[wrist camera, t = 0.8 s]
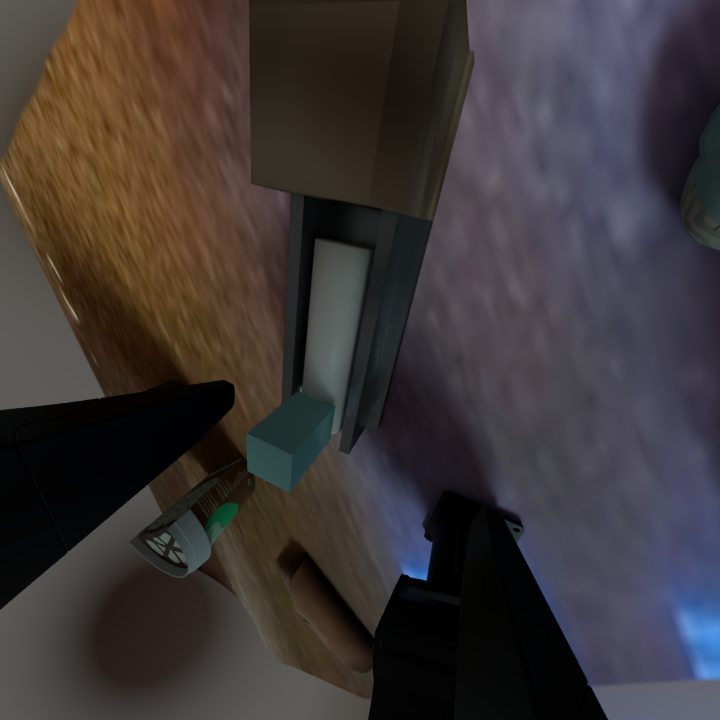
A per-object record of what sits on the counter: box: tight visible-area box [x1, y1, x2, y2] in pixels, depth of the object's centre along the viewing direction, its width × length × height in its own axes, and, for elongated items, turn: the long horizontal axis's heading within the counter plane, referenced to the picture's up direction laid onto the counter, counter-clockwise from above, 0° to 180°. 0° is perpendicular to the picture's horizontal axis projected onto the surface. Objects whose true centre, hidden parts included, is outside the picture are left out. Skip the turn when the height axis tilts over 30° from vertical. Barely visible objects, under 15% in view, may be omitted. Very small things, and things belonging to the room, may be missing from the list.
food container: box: [129, 457, 255, 578], centre depth 32 cm, size 12×6×10 cm, turn 128°
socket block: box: [249, 0, 474, 221], centre depth 13 cm, size 7×8×7 cm
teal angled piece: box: [247, 238, 376, 493], centre depth 17 cm, size 13×4×8 cm, turn 170°
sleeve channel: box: [281, 193, 433, 455], centre depth 19 cm, size 16×8×4 cm, turn 170°
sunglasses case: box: [274, 553, 373, 674], centre depth 38 cm, size 18×7×7 cm, turn 38°
